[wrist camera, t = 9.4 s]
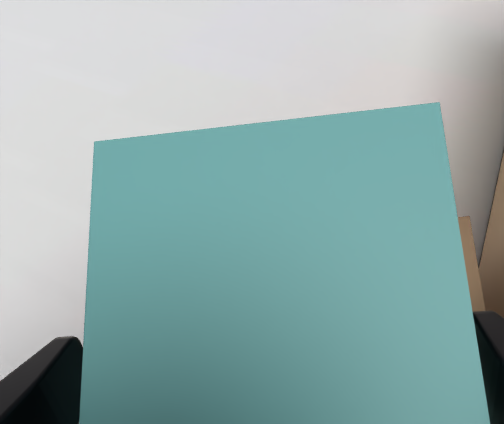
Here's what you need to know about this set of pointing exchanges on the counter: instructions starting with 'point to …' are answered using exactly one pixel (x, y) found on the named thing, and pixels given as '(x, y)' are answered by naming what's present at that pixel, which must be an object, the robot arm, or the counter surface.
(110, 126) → the counter surface
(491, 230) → the box
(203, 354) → the lid
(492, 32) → the counter surface
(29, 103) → the counter surface
